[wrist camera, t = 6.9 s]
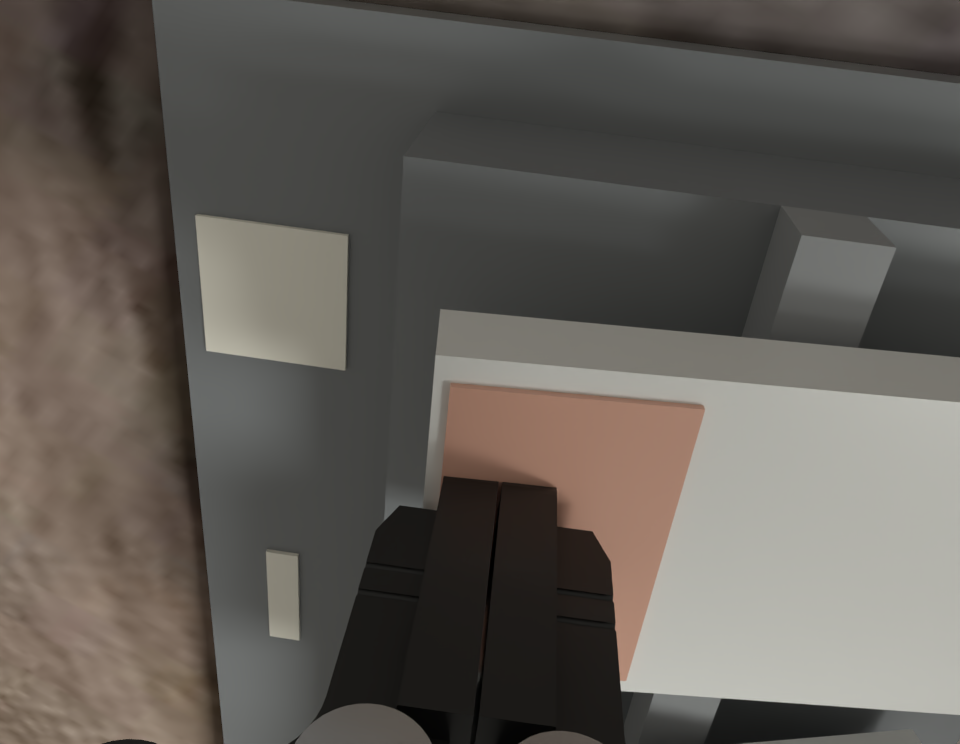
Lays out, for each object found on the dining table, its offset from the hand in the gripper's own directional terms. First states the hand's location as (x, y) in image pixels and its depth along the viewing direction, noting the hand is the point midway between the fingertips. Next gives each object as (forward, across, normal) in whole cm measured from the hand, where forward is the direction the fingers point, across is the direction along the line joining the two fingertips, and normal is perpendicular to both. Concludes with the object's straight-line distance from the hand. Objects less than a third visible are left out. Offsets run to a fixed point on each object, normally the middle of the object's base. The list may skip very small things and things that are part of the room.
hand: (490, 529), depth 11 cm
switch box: (+7, -2, +9) cm, 11 cm away
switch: (+1, -4, 0) cm, 4 cm away
